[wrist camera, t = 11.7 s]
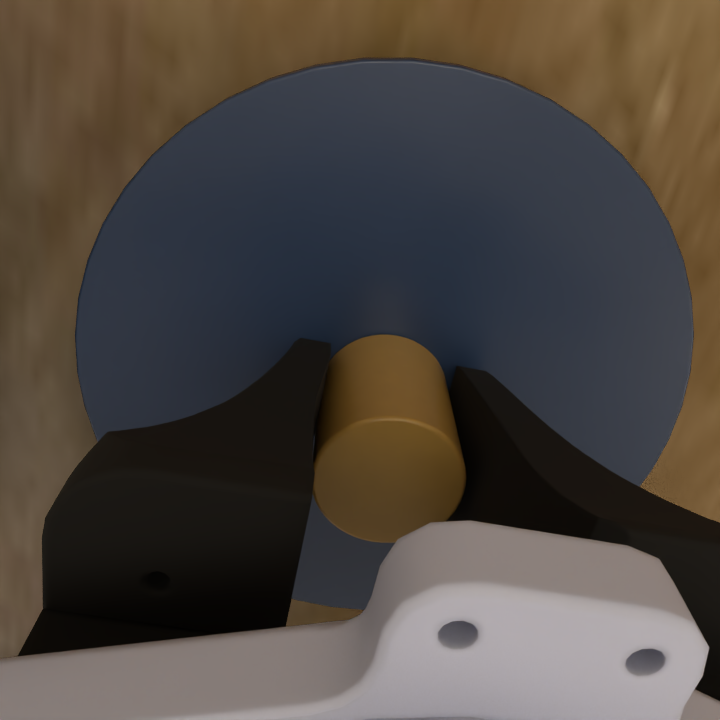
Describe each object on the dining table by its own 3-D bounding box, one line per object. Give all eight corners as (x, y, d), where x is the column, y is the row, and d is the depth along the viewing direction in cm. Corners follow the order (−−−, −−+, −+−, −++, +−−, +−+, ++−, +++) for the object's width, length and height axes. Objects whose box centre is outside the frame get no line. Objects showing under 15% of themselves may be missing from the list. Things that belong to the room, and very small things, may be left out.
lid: (778, 132, 13) (952, 183, 9) (562, 609, 19) (614, 764, 15) (101, -16, 12) (-22, -27, 8) (87, 538, 18) (11, 686, 14)
